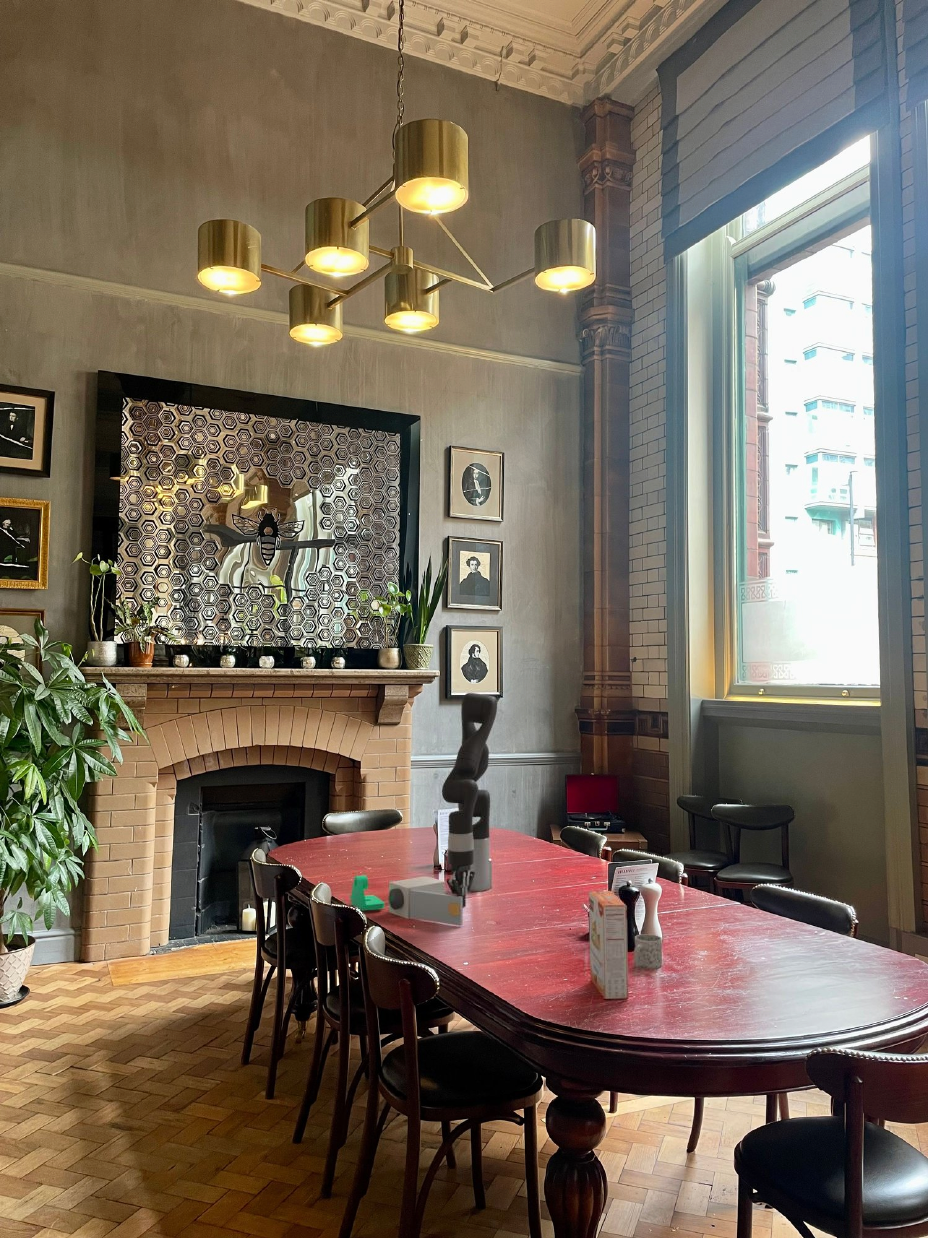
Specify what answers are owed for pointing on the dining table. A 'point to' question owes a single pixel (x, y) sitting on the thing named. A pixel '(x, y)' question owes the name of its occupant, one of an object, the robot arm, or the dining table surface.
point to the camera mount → (359, 897)
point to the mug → (648, 951)
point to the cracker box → (608, 944)
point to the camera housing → (401, 892)
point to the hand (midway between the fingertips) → (461, 907)
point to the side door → (436, 907)
